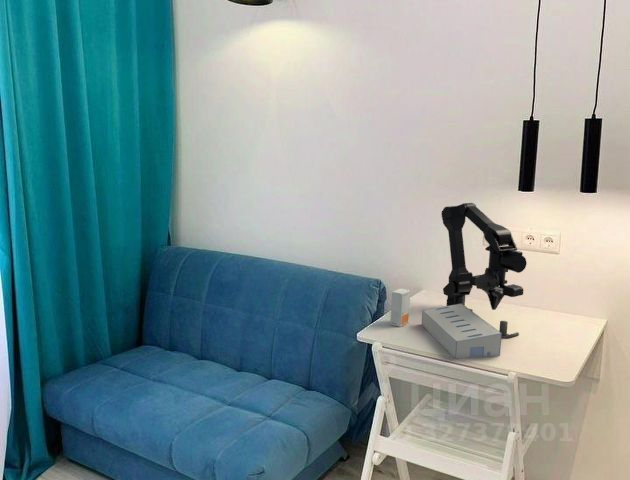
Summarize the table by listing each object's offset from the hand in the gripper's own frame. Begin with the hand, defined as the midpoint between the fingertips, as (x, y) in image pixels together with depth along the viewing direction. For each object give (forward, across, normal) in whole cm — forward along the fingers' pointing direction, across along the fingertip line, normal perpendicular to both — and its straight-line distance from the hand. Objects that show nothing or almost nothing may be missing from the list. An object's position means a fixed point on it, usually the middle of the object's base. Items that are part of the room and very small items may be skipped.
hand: (493, 309), depth 207 cm
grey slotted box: (+7, +1, -19) cm, 20 cm away
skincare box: (+7, -20, -25) cm, 33 cm away
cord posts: (+7, -2, -2) cm, 7 cm away
